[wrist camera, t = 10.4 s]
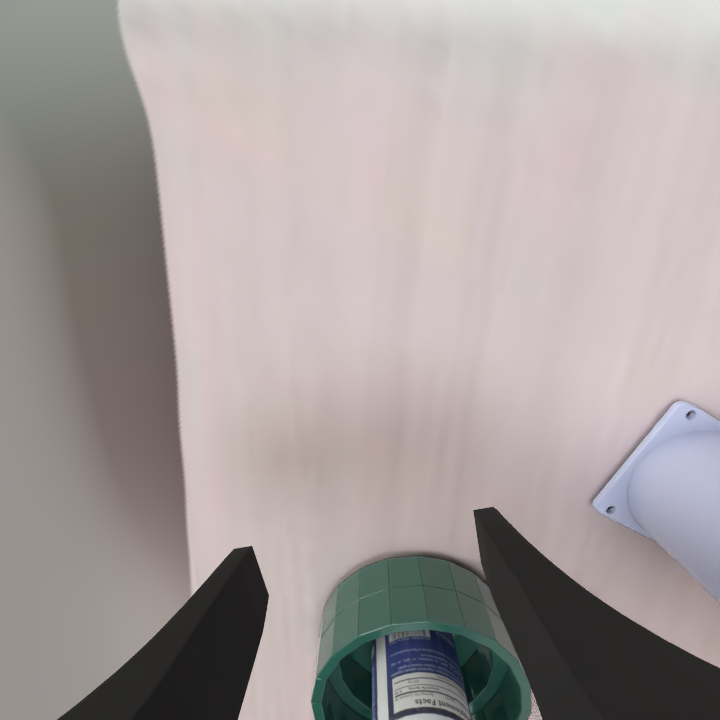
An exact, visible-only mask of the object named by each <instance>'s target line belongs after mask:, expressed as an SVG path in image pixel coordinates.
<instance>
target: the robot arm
mask: <svg viewBox="0 0 720 720" xmlns="http://www.w3.org/2000/svg"><path fill="white" fill-rule="evenodd" d="M690 411H691V412H690ZM688 412H690V414H689V415H688V416H687V413H688ZM592 505H593V508H594V509H595V510H596V511H597V512H599V513H601V514H603V515H604V516H606V517H608V518H610V519H612V520H614V521H616V522H618V523H620V524H622V525H624V526H626V527H628V528H630V529H632V530H633V531H635V532H637V533H639V534H641V535H643V536H645V537H647V538H649V539H651V540H653V541H655V542H657V543H658V544H659V545H660V546H661V547H662V548H663V549H664V550H665V551H666V552H667V553H668V554H669V555H670V556H671V557H672V558H673V559H674V560H675V561H677V562H678V563H679V564H680V565H681V566H682V567H683V568H684V569H685V570H686V571H687V572H688V573H689V574H690V575H691V576H692V577H693V578H694V579H695V580H696V581H697V582H698V583H699V584H700V585H701V586H702V587H703V588H704V589H705V590H706V591H707V592H708V593H709V594H710V595H711V596H712V597H713V598H714V599H715V600H716V601H717V602H718V603H719V604H720V420H718V419H716V418H714V417H713V416H711V415H709V414H708V413H706V412H704V411H702V410H701V409H699V408H697V407H695V406H694V405H692V404H690V403H688V402H686V401H683V400H680V401H677V402H675V403H674V404H673V405H672V406H671V407H670V408H669V409H668V411H667V412H666V413H665V414H664V415H663V417H662V418H661V419H660V420H659V421H658V423H657V424H656V425H655V426H654V427H653V429H652V430H651V431H650V432H649V434H648V435H647V436H646V437H645V438H644V440H643V441H642V442H641V443H640V444H639V446H638V447H637V448H636V449H635V450H634V452H633V453H632V454H631V455H630V457H629V458H628V459H627V460H626V461H625V463H624V464H623V465H622V466H621V467H620V469H619V470H618V471H617V472H616V473H615V475H614V476H613V477H612V478H611V480H610V481H609V482H608V483H607V484H606V486H605V487H604V488H603V489H602V490H601V492H600V493H599V494H598V495H597V496H596V498H595V499H594V500H593V503H592ZM608 507H611V508H610V509H607V508H608ZM473 511H474V517H475V524H476V531H477V537H478V544H479V551H480V558H481V564H482V567H483V570H484V573H485V576H486V580H487V583H488V586H489V589H490V592H491V595H492V598H493V600H494V603H495V605H496V607H497V610H498V612H499V614H500V617H501V619H502V621H503V624H504V626H505V628H506V630H507V633H508V635H509V637H510V640H511V642H512V644H513V647H514V649H515V651H516V653H517V656H518V658H519V660H520V663H521V665H522V667H523V669H524V672H525V674H526V676H527V679H528V681H529V684H530V686H531V689H532V691H533V694H534V696H535V699H536V702H537V704H538V707H539V710H540V713H541V716H542V719H543V720H720V668H718V667H716V666H714V665H712V664H710V663H708V662H706V661H704V660H702V659H700V658H698V657H696V656H694V655H692V654H690V653H688V652H687V651H685V650H683V649H681V648H679V647H677V646H675V645H673V644H672V643H670V642H668V641H666V640H664V639H662V638H661V637H659V636H657V635H656V634H654V633H652V632H651V631H649V630H647V629H646V628H644V627H642V626H641V625H639V624H637V623H636V622H634V621H632V620H631V619H629V618H627V617H626V616H624V615H622V614H621V613H619V612H618V611H616V610H615V609H613V608H612V607H610V606H609V605H607V604H606V603H604V602H603V601H601V600H600V599H599V598H597V597H596V596H594V595H593V594H592V593H590V592H589V591H587V590H586V589H585V588H583V587H582V586H581V585H579V584H578V583H577V582H575V581H574V580H573V579H571V578H570V577H569V576H568V575H566V574H565V573H564V572H563V571H562V570H560V569H559V568H558V567H557V566H555V565H554V564H553V563H552V562H551V561H549V560H548V559H547V558H546V557H545V556H544V555H543V554H541V553H540V552H539V551H538V550H537V549H536V548H535V547H534V546H533V545H532V544H530V543H529V542H528V541H527V540H526V539H525V538H524V537H523V536H522V535H521V534H520V533H519V532H518V531H517V530H516V529H515V528H514V527H513V526H512V525H511V524H510V523H509V522H508V521H507V520H506V519H505V518H504V517H503V516H502V515H501V514H500V512H499V511H498V510H497V509H495V508H494V507H490V508H484V509H478V510H473ZM268 598H269V595H268V592H267V589H266V586H265V583H264V580H263V577H262V574H261V571H260V568H259V565H258V562H257V559H256V556H255V553H254V550H253V547H252V546H249V547H243V548H237V549H234V550H233V551H232V552H231V553H230V554H229V555H228V556H227V557H226V558H225V559H224V561H223V562H222V563H221V564H220V565H219V566H218V567H217V569H216V570H215V571H214V572H213V573H212V574H211V575H210V577H209V578H208V579H207V580H206V581H205V582H204V583H203V585H202V586H201V587H200V588H199V589H198V590H197V591H196V592H195V594H194V595H193V596H192V597H191V598H190V599H189V600H188V601H187V603H186V604H185V605H184V606H183V607H182V608H181V609H180V610H179V611H178V612H177V613H176V614H175V615H174V616H173V617H172V618H171V619H170V620H169V621H168V623H167V624H166V625H165V626H164V627H163V628H162V629H161V630H160V631H159V632H158V633H157V634H156V635H155V636H154V637H153V638H152V639H151V640H150V641H149V642H148V643H147V644H146V645H145V646H144V647H143V648H142V649H141V650H140V651H138V652H137V653H136V654H135V655H134V656H133V657H132V658H131V659H130V660H129V661H128V662H126V663H125V664H124V665H123V666H122V667H121V668H120V669H119V670H118V671H116V673H114V674H113V675H112V676H111V677H109V678H108V679H107V680H106V681H105V682H104V683H102V684H101V685H100V686H99V687H97V688H96V689H95V690H94V691H93V692H91V693H90V694H89V695H88V696H87V697H85V698H84V699H83V700H82V701H81V702H79V703H78V704H77V705H76V706H74V707H73V708H72V709H71V710H69V711H68V712H67V713H65V714H64V715H63V716H61V717H60V718H59V719H57V720H238V717H239V713H240V710H241V706H242V703H243V699H244V696H245V692H246V689H247V685H248V682H249V679H250V675H251V672H252V668H253V665H254V661H255V658H256V654H257V651H258V647H259V644H260V640H261V636H262V633H263V628H264V622H265V617H266V611H267V604H268Z"/></svg>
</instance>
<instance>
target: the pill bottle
mask: <svg viewBox="0 0 720 720" xmlns="http://www.w3.org/2000/svg"><path fill="white" fill-rule="evenodd" d="M371 658H372V720H472V718H471V713H470V709H469V705H468V700H467V695H466V691H465V686H464V681H463V677H462V673H461V669H460V664H459V660H458V655H457V651H456V647H455V642H454V638H453V635H452V633H446V632H439V631H433V630H420V631H408V632H396V633H392V634H389V635H386V636H383V637H380V638H377V639H375V640H372V642H371Z"/></svg>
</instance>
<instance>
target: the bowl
mask: <svg viewBox="0 0 720 720" xmlns="http://www.w3.org/2000/svg"><path fill="white" fill-rule="evenodd" d="M420 630H433V631H439V632H446V633H452V635H453V638H454V642H455V647H456V651H457V655H458V660H459V664H460V669H461V673H462V677H463V681H464V686H465V691H466V695H467V700H468V705H469V709H470V713H471V718H472V720H528V718H529V716H530V714H531V686H530V684H529V681H528V679H527V676H526V674H525V672H524V669H523V667H522V665H521V663H520V660H519V658H518V656H517V653H516V651H515V649H514V647H513V644H512V642H511V640H510V637H509V635H508V633H507V630H506V628H505V626H504V624H503V621H502V619H501V617H500V614H499V612H498V610H497V607H496V605H495V603H494V600H493V598H492V595H491V592H490V589H489V587H488V586H487V585H486V584H485V583H484V582H483V581H482V580H481V579H480V578H479V577H478V576H476V575H475V574H474V573H473V572H471V571H469V570H467V569H464V568H462V567H460V566H458V565H456V564H454V563H452V562H450V561H447V560H441V559H435V558H429V557H423V556H409V557H399V558H389V559H384V560H382V561H379V562H376V563H374V564H371V565H368V566H366V567H363V568H361V569H359V570H358V571H356V572H355V573H354V574H352V575H351V576H350V577H349V578H347V579H346V580H345V581H343V582H342V583H341V584H339V586H338V587H337V588H336V590H335V591H334V593H333V594H332V596H331V597H330V599H329V600H328V602H327V603H326V605H325V607H324V612H323V617H322V622H321V627H320V635H319V642H318V650H317V658H316V666H315V674H314V682H313V690H312V698H311V704H312V709H313V713H314V717H315V720H372V658H371V642H372V640H375V639H377V638H380V637H383V636H386V635H389V634H392V633H396V632H408V631H420Z"/></svg>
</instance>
